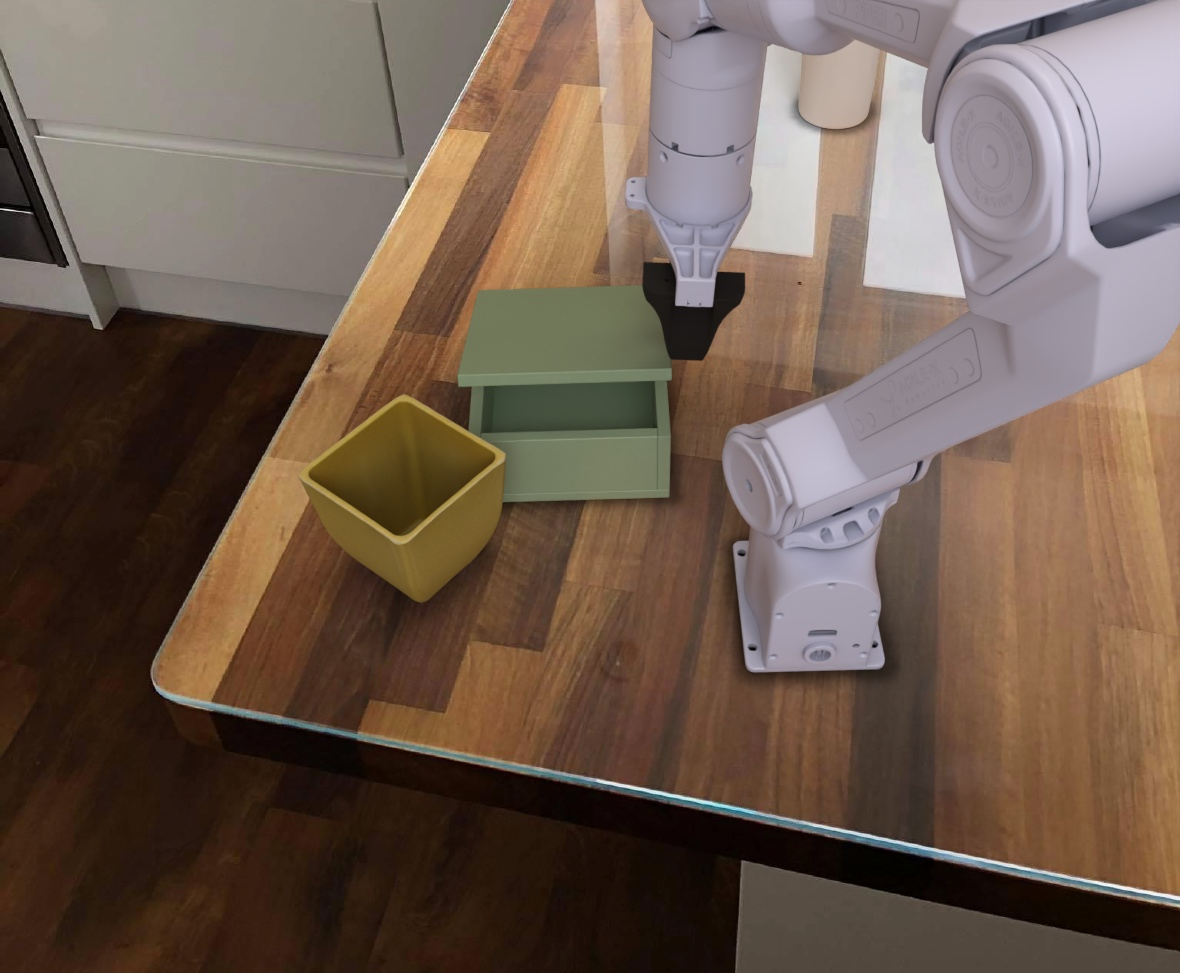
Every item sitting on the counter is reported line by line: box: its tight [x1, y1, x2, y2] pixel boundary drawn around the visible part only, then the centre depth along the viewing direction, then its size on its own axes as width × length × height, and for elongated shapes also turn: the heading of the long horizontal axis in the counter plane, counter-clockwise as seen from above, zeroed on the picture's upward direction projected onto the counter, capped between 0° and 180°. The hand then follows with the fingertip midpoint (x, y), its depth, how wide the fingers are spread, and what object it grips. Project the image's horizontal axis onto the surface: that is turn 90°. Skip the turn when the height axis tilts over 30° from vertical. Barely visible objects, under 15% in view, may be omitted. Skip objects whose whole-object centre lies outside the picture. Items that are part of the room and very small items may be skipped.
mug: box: [798, 40, 881, 130], centre depth 106 cm, size 10×7×12 cm, turn 153°
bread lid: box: [456, 284, 673, 388], centre depth 78 cm, size 14×13×1 cm
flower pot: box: [297, 393, 506, 604], centre depth 74 cm, size 9×9×9 cm
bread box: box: [467, 381, 672, 503], centre depth 82 cm, size 14×13×6 cm
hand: (687, 311), depth 75 cm, fingers open, 7 cm apart
